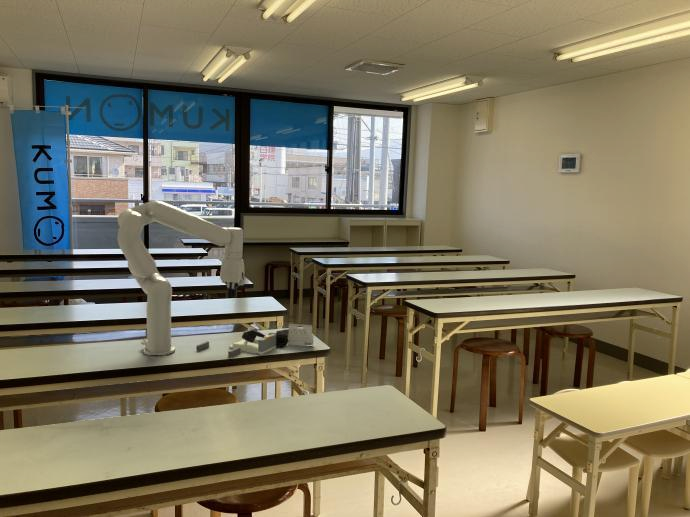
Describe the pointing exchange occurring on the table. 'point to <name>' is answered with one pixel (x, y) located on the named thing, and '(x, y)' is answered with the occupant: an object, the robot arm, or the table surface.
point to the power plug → (251, 335)
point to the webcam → (280, 340)
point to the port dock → (257, 344)
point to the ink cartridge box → (300, 335)
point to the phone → (284, 332)
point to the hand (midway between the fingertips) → (231, 297)
